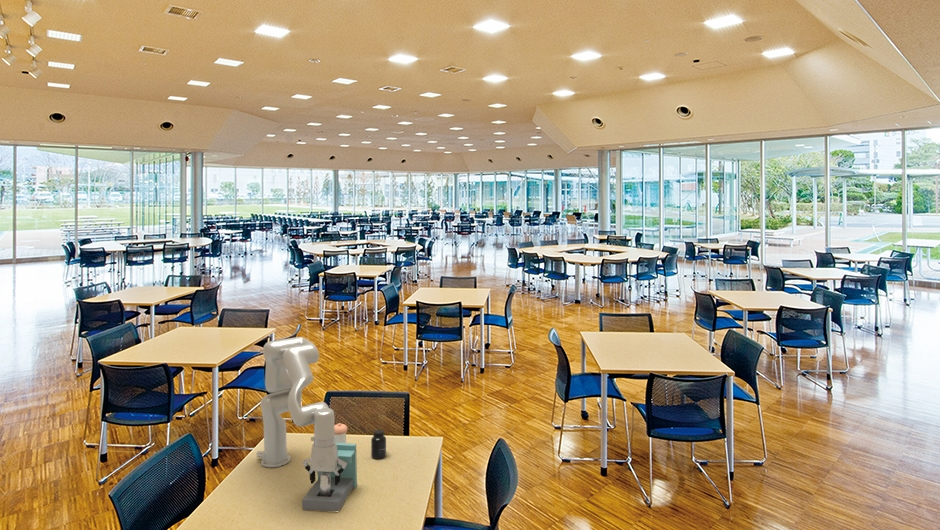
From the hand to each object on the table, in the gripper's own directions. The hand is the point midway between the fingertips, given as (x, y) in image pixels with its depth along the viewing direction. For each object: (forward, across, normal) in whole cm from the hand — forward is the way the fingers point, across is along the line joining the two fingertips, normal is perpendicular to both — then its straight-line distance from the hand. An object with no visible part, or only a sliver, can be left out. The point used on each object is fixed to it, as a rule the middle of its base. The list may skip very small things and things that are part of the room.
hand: (325, 482), depth 208 cm
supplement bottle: (+8, +10, +41) cm, 43 cm away
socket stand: (+8, 0, +4) cm, 9 cm away
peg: (+8, 0, 0) cm, 8 cm away
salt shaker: (+8, -5, +31) cm, 32 cm away
